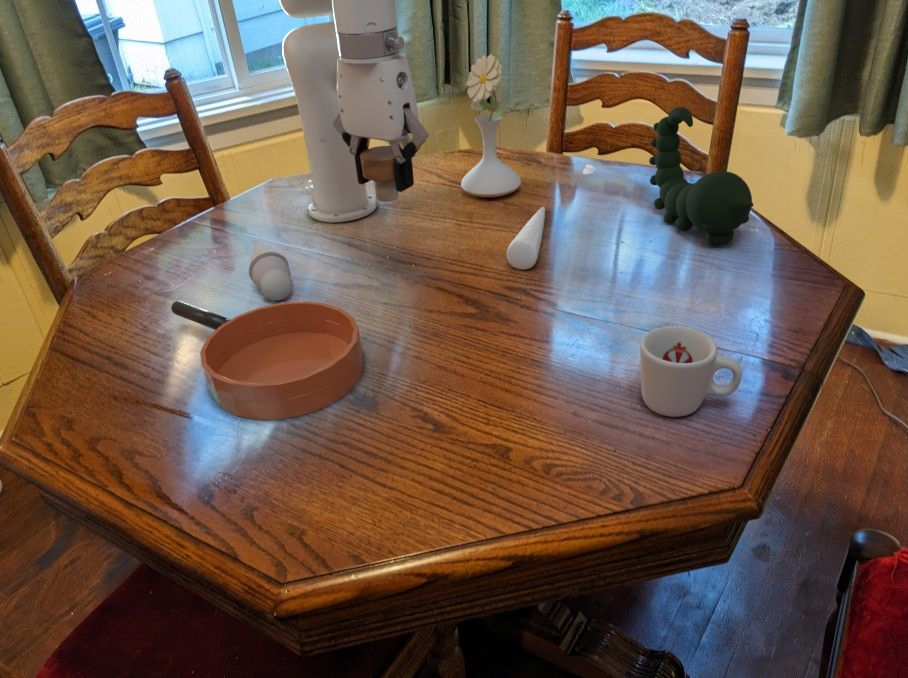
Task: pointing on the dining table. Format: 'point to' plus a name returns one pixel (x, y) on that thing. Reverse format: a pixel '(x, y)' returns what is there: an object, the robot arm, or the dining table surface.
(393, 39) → the robot arm
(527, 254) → the unicorn horn
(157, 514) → the dining table surface
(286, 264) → the ice cream cone
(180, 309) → the pan handle
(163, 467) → the dining table surface
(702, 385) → the cup
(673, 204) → the toy figurine
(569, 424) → the dining table surface
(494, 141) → the flower in vase
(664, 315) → the dining table surface
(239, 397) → the pan
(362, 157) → the mushroom
